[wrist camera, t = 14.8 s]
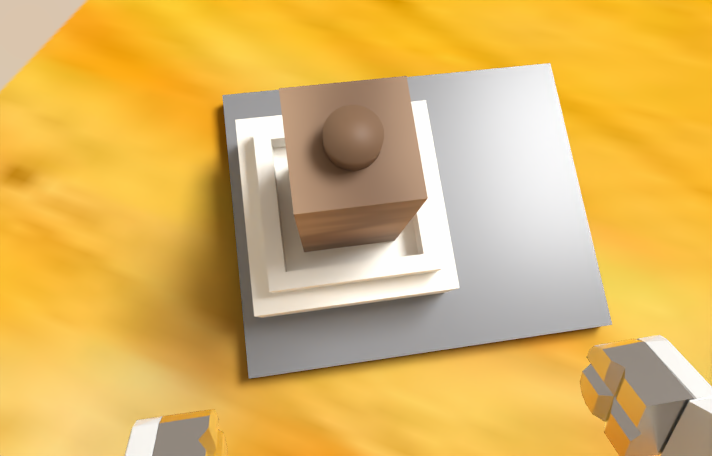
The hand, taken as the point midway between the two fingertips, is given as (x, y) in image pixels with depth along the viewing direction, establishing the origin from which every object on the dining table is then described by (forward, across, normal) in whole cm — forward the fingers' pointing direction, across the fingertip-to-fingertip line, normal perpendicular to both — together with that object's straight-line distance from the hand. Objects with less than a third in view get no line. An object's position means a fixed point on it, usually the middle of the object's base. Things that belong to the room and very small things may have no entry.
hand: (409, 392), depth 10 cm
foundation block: (+17, 0, +6) cm, 18 cm away
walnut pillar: (+14, 0, +4) cm, 15 cm away
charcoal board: (+17, -4, +6) cm, 19 cm away
